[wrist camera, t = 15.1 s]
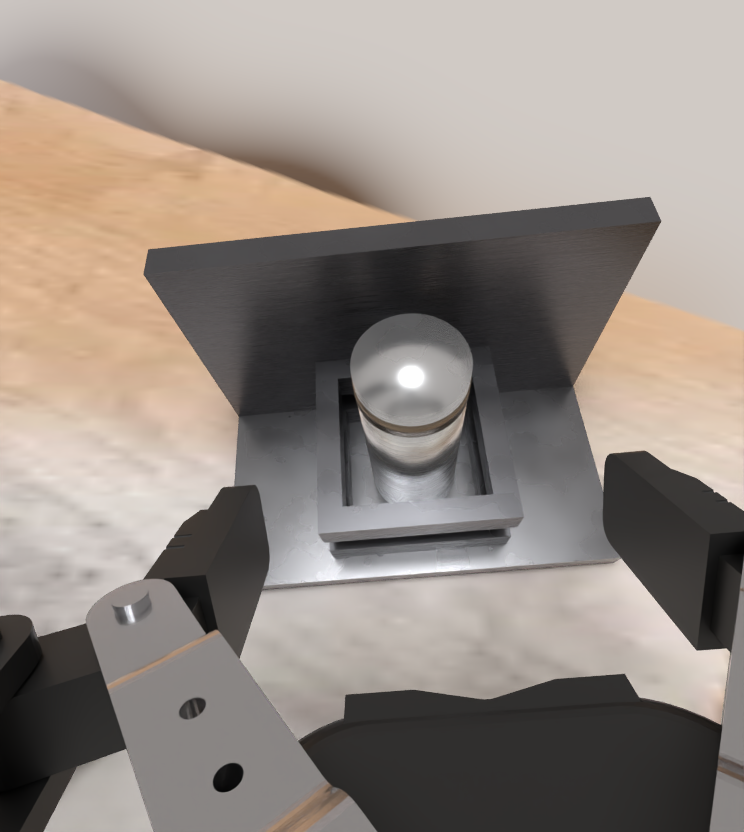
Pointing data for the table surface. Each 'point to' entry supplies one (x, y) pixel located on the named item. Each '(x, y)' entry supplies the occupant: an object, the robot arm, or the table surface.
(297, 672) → the table surface
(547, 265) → the collar stand
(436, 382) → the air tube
